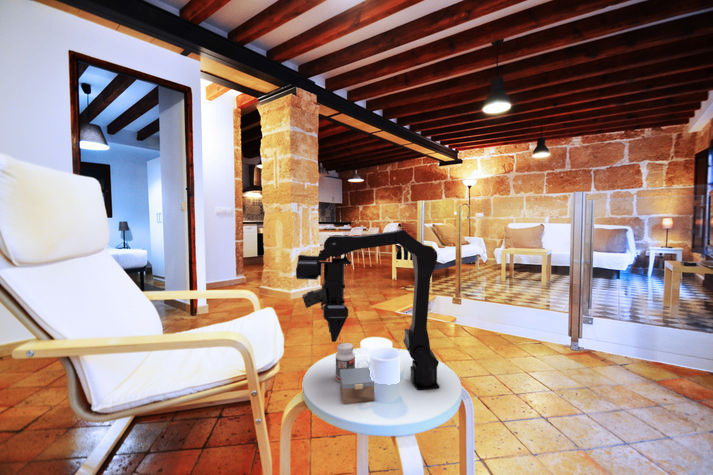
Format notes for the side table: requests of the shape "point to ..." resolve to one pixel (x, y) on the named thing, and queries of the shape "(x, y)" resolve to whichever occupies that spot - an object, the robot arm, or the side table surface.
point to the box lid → (356, 378)
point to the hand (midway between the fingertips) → (332, 336)
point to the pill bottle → (344, 358)
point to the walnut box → (357, 394)
